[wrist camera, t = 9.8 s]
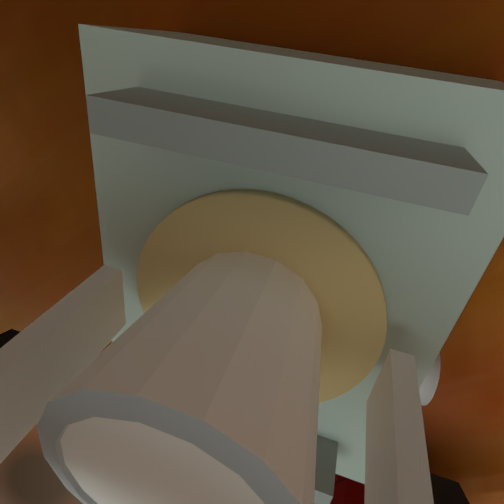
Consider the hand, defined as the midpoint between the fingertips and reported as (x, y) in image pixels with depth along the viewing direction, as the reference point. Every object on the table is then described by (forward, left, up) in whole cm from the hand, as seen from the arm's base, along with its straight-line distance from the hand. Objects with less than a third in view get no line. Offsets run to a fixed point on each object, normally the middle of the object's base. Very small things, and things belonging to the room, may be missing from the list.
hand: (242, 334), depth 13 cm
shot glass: (0, 0, -1) cm, 1 cm away
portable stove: (0, 0, -9) cm, 9 cm away
